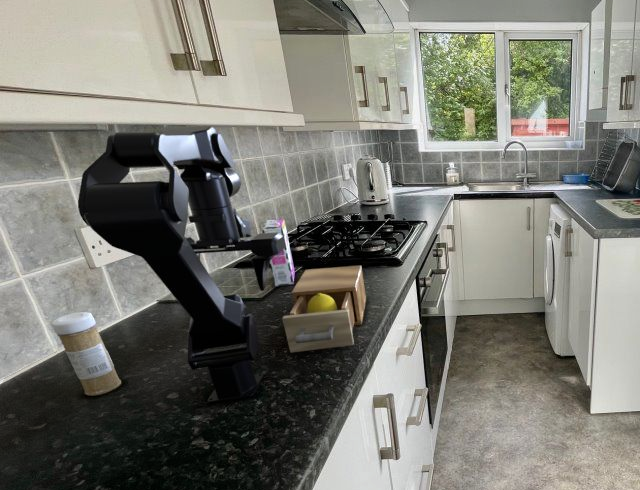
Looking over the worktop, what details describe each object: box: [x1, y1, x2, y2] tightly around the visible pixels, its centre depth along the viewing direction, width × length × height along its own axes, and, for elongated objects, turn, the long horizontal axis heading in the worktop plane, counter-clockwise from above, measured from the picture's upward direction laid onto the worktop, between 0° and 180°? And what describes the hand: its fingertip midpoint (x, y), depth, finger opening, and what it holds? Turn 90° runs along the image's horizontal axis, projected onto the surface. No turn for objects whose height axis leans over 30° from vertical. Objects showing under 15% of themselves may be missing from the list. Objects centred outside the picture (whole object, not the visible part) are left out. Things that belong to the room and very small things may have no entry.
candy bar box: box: [261, 218, 296, 287], centre depth 114 cm, size 11×5×16 cm, turn 25°
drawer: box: [281, 291, 356, 353], centre depth 82 cm, size 18×11×7 cm, turn 14°
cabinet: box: [291, 265, 367, 326], centre depth 94 cm, size 15×13×9 cm
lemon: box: [307, 293, 338, 313], centre depth 83 cm, size 6×6×8 cm
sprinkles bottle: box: [50, 311, 122, 397], centre depth 66 cm, size 5×5×13 cm
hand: (235, 292), depth 74 cm, fingers open, 9 cm apart
